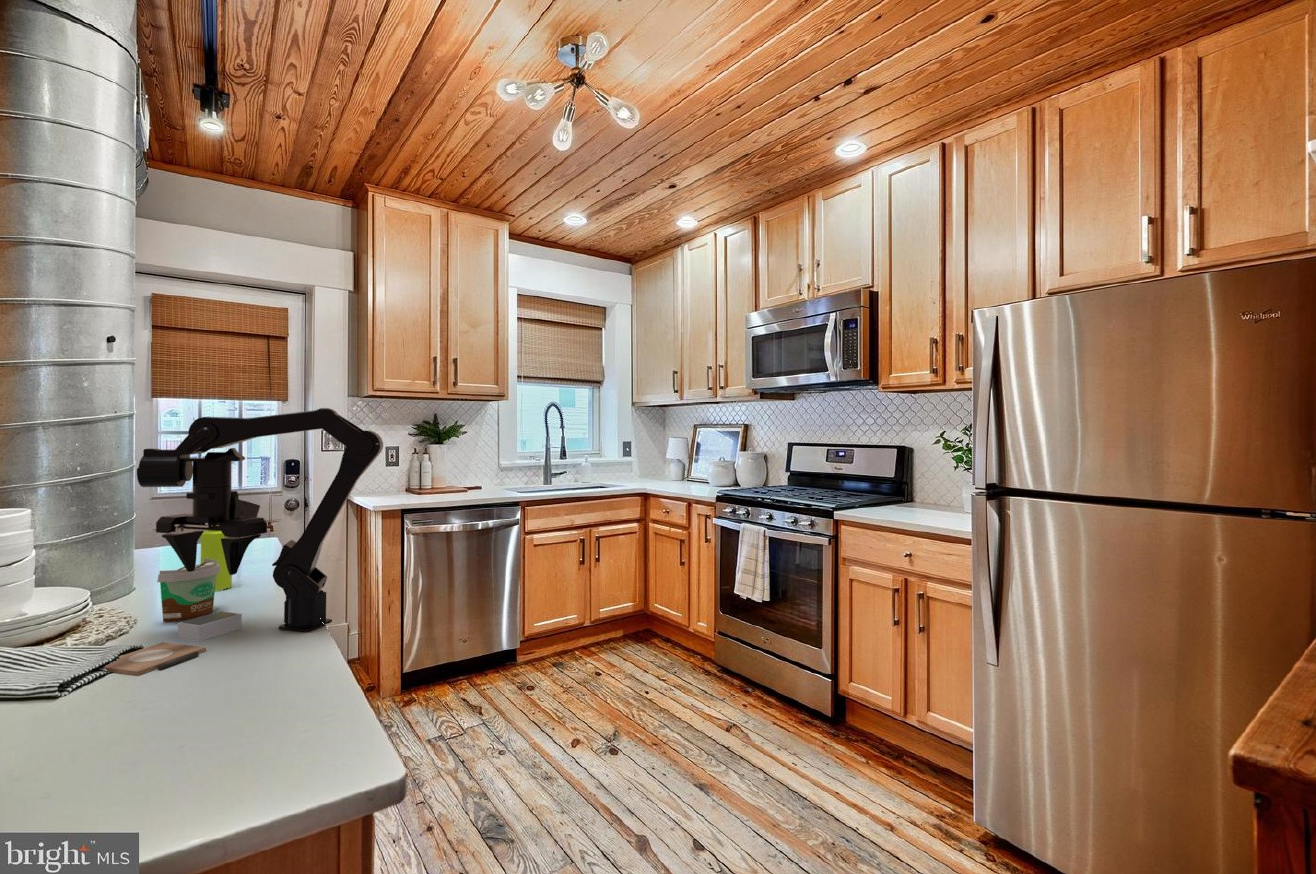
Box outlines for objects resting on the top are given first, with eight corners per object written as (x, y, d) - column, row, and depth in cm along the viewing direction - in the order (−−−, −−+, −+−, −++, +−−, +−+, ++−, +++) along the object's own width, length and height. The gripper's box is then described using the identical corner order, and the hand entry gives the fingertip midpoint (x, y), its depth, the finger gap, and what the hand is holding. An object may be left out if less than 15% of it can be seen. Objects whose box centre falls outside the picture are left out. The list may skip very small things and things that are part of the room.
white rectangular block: (241, 630, 117) (241, 613, 117) (198, 643, 109) (199, 625, 109) (221, 627, 118) (221, 610, 118) (177, 640, 110) (177, 622, 110)
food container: (189, 625, 118) (189, 572, 118) (156, 624, 118) (157, 571, 118) (234, 607, 130) (235, 558, 130) (205, 606, 130) (205, 558, 130)
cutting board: (212, 651, 104) (212, 646, 104) (144, 676, 94) (144, 671, 94) (162, 645, 107) (162, 641, 107) (91, 669, 96) (91, 664, 96)
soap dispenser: (189, 590, 142) (190, 502, 142) (222, 584, 148) (223, 499, 148) (204, 594, 139) (205, 504, 139) (236, 587, 146) (238, 501, 145)
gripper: (291, 484, 119) (290, 566, 119) (210, 481, 123) (210, 561, 123) (240, 489, 108) (239, 580, 108) (153, 486, 112) (153, 573, 113)
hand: (211, 573), depth 114 cm, fingers open, 9 cm apart
